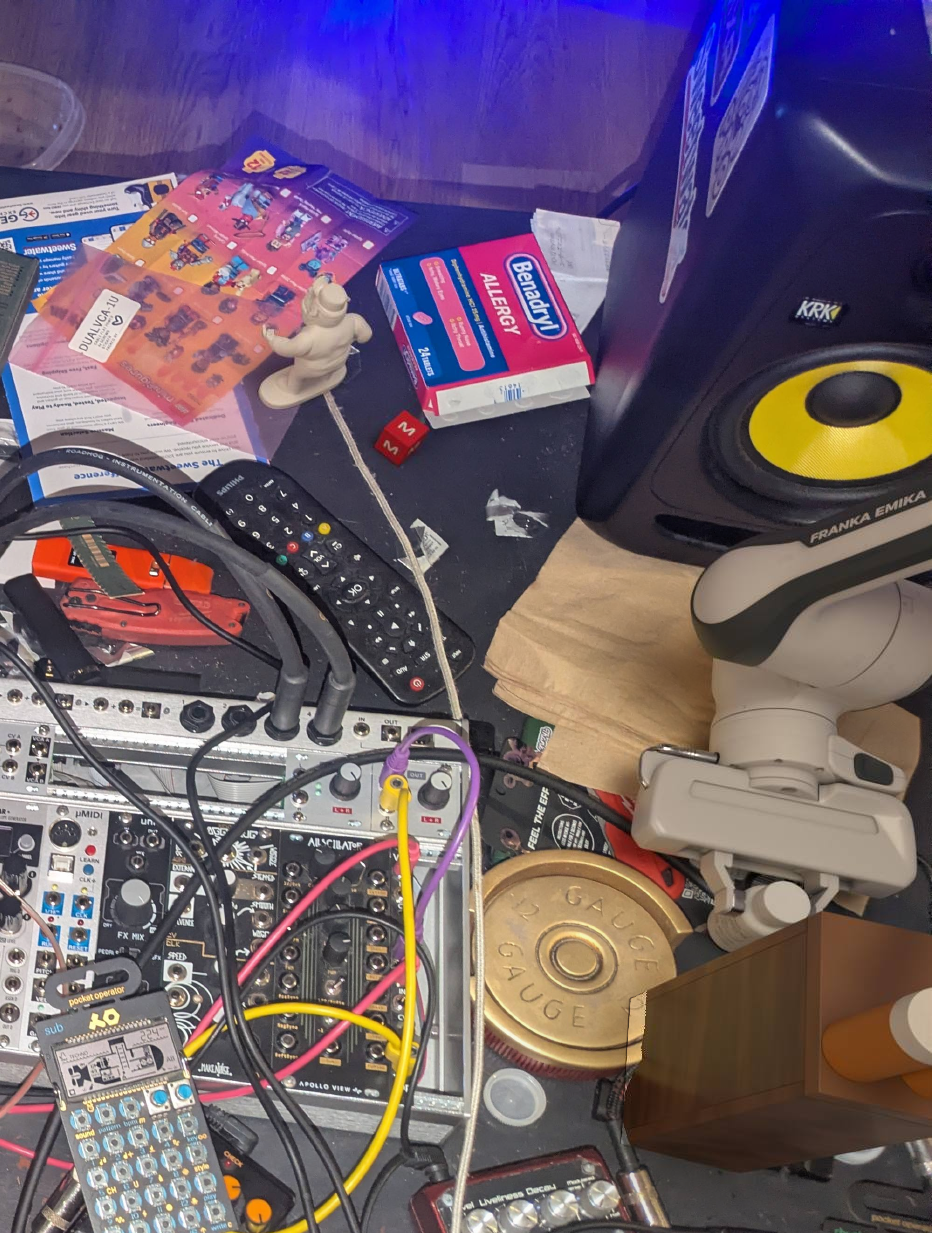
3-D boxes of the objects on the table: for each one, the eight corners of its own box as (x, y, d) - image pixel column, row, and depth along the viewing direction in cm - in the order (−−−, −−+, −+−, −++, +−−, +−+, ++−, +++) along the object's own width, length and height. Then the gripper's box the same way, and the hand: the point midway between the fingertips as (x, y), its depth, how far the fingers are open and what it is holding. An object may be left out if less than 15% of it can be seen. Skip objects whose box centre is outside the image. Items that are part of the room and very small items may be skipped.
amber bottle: (891, 1026, 84) (986, 997, 77) (891, 1092, 83) (988, 1069, 75) (820, 1009, 85) (907, 979, 77) (818, 1075, 83) (908, 1050, 76)
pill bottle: (762, 910, 112) (818, 881, 105) (761, 960, 111) (817, 934, 104) (706, 898, 113) (758, 869, 106) (704, 948, 111) (756, 921, 104)
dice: (418, 448, 130) (429, 428, 127) (398, 466, 129) (409, 447, 126) (394, 429, 131) (404, 409, 128) (373, 447, 130) (383, 428, 127)
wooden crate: (745, 1024, 109) (954, 949, 87) (740, 1173, 105) (958, 1133, 83) (629, 998, 110) (807, 916, 88) (619, 1143, 106) (803, 1096, 84)
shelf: (954, 949, 87) (971, 943, 86) (958, 1133, 83) (976, 1129, 82) (807, 916, 88) (821, 909, 87) (803, 1096, 84) (818, 1092, 83)
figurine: (321, 338, 135) (357, 249, 124) (357, 386, 133) (398, 300, 121) (241, 373, 134) (271, 286, 122) (277, 422, 131) (311, 338, 120)
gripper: (659, 722, 110) (651, 880, 105) (928, 776, 107) (932, 940, 103) (621, 753, 116) (612, 904, 111) (876, 805, 113) (877, 961, 109)
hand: (768, 922), depth 107 cm, fingers closed on pill bottle, 4 cm apart
